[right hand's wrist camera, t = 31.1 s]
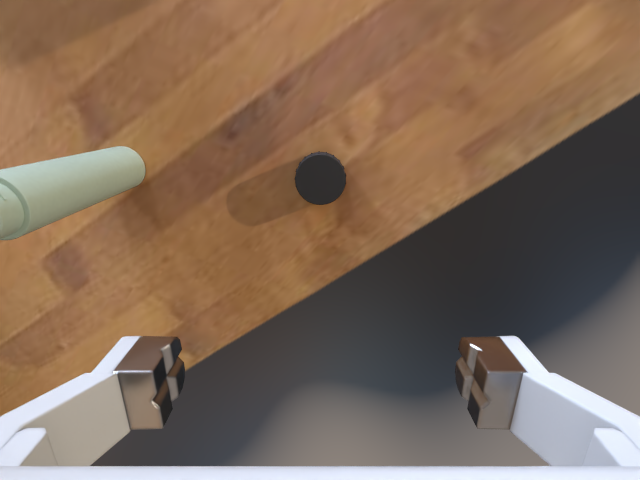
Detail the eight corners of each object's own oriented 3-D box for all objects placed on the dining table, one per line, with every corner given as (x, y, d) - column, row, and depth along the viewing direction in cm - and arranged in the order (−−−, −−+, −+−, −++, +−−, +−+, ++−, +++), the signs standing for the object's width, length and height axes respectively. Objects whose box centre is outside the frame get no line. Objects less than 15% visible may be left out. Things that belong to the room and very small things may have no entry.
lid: (353, 186, 38) (355, 190, 36) (311, 209, 39) (310, 214, 37) (330, 142, 36) (331, 144, 34) (286, 167, 37) (284, 170, 35)
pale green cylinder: (99, 147, 37) (-83, 180, 20) (140, 145, 36) (-8, 177, 20) (109, 188, 38) (-53, 251, 21) (149, 187, 38) (17, 249, 21)
